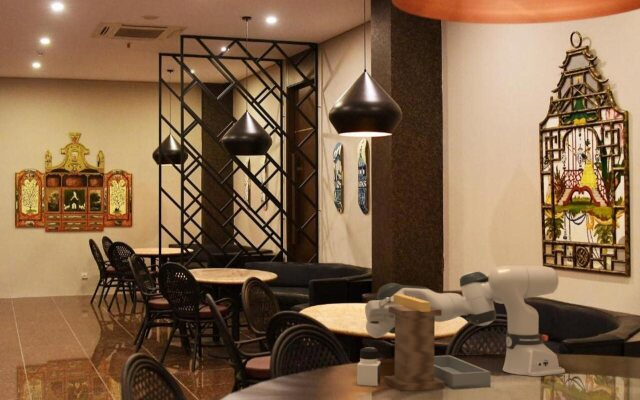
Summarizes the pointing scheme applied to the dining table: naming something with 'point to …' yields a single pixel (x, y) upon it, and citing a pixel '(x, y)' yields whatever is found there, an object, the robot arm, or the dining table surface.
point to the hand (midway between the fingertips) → (401, 298)
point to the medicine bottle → (369, 368)
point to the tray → (460, 373)
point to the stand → (414, 349)
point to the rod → (412, 302)
